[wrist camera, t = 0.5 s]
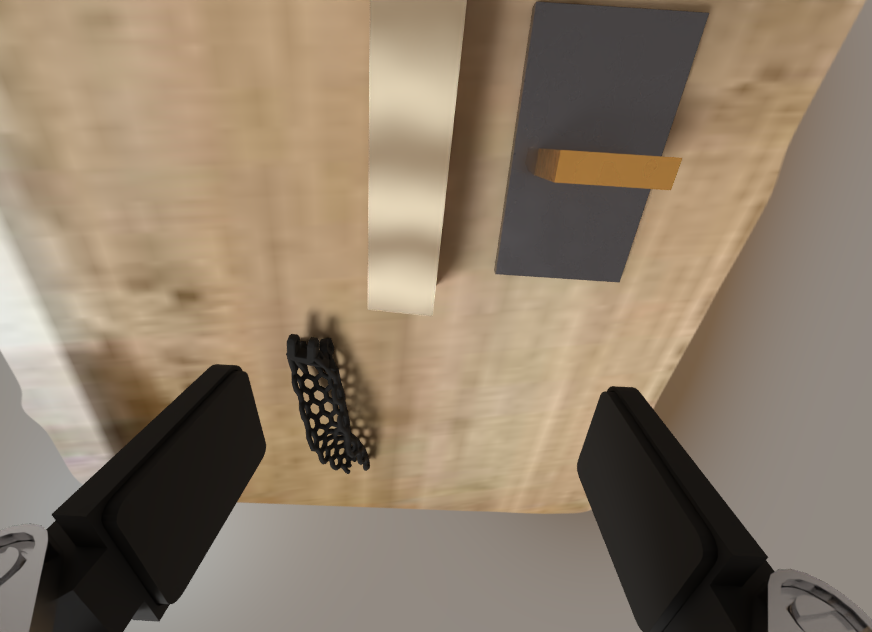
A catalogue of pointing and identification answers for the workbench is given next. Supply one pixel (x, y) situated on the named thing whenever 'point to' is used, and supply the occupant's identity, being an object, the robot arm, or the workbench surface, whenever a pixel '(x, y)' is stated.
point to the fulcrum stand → (592, 135)
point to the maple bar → (410, 146)
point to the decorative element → (311, 355)
